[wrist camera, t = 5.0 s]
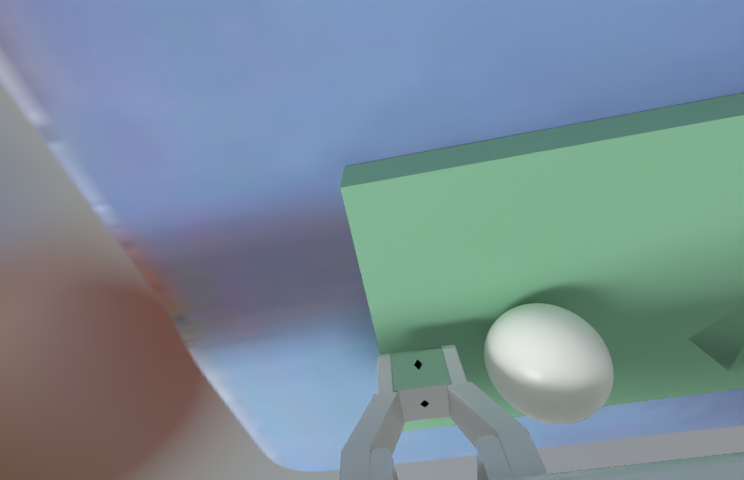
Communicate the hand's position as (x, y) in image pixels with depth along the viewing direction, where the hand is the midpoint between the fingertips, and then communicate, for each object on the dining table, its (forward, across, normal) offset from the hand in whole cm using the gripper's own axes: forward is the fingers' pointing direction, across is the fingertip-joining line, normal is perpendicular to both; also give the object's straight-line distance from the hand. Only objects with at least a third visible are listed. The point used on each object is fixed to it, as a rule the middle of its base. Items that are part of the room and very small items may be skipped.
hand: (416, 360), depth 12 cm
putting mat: (+4, -12, 0) cm, 12 cm away
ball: (-1, -4, 0) cm, 5 cm away
